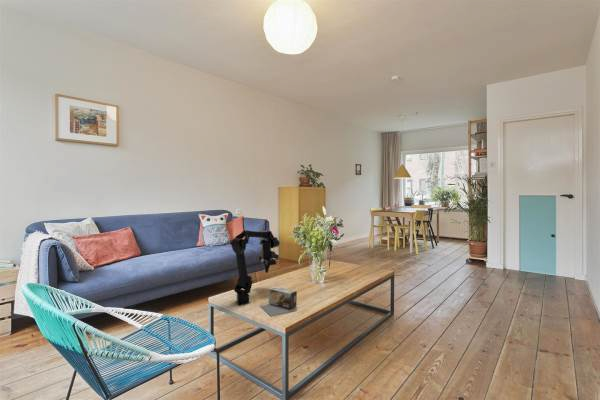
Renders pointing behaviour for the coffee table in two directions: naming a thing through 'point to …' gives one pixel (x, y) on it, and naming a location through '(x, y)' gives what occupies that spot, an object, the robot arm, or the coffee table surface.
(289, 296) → the coffee box
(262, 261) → the robot arm
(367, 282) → the coffee table surface
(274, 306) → the mat
